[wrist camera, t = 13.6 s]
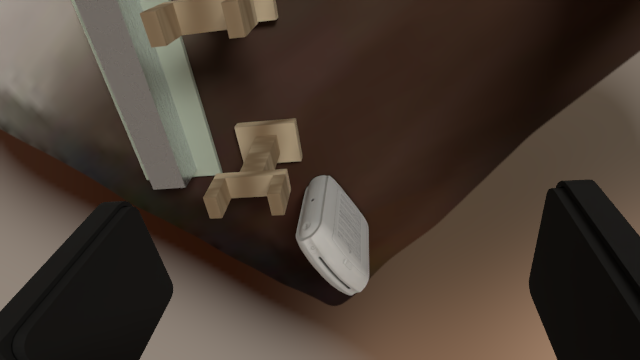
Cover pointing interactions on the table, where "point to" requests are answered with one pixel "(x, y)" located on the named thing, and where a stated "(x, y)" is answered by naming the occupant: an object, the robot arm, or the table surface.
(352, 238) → the photo printer
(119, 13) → the steel bar
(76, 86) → the table surface
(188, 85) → the sage mat
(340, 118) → the table surface
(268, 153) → the forked stand
